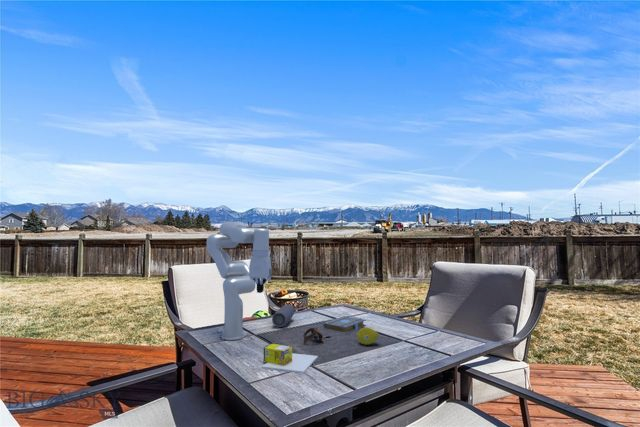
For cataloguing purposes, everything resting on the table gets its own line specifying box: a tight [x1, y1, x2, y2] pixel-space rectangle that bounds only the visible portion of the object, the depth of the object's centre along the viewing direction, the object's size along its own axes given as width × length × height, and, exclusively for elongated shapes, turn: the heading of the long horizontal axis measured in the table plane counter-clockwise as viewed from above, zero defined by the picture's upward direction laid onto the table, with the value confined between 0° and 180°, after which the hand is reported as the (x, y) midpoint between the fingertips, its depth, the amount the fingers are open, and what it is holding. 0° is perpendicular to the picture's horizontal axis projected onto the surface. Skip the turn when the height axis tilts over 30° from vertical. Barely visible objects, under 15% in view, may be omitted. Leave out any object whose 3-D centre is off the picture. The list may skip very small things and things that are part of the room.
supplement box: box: [263, 343, 293, 365], centre depth 147 cm, size 6×6×11 cm
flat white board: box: [261, 352, 319, 374], centre depth 147 cm, size 18×18×1 cm
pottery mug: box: [302, 326, 325, 344], centre depth 175 cm, size 12×10×8 cm
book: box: [322, 315, 367, 335], centre depth 201 cm, size 21×16×5 cm
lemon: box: [356, 327, 380, 346], centre depth 170 cm, size 11×8×8 cm
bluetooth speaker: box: [271, 304, 295, 328], centre depth 209 cm, size 23×9×10 cm, turn 172°
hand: (260, 292), depth 166 cm, fingers closed
